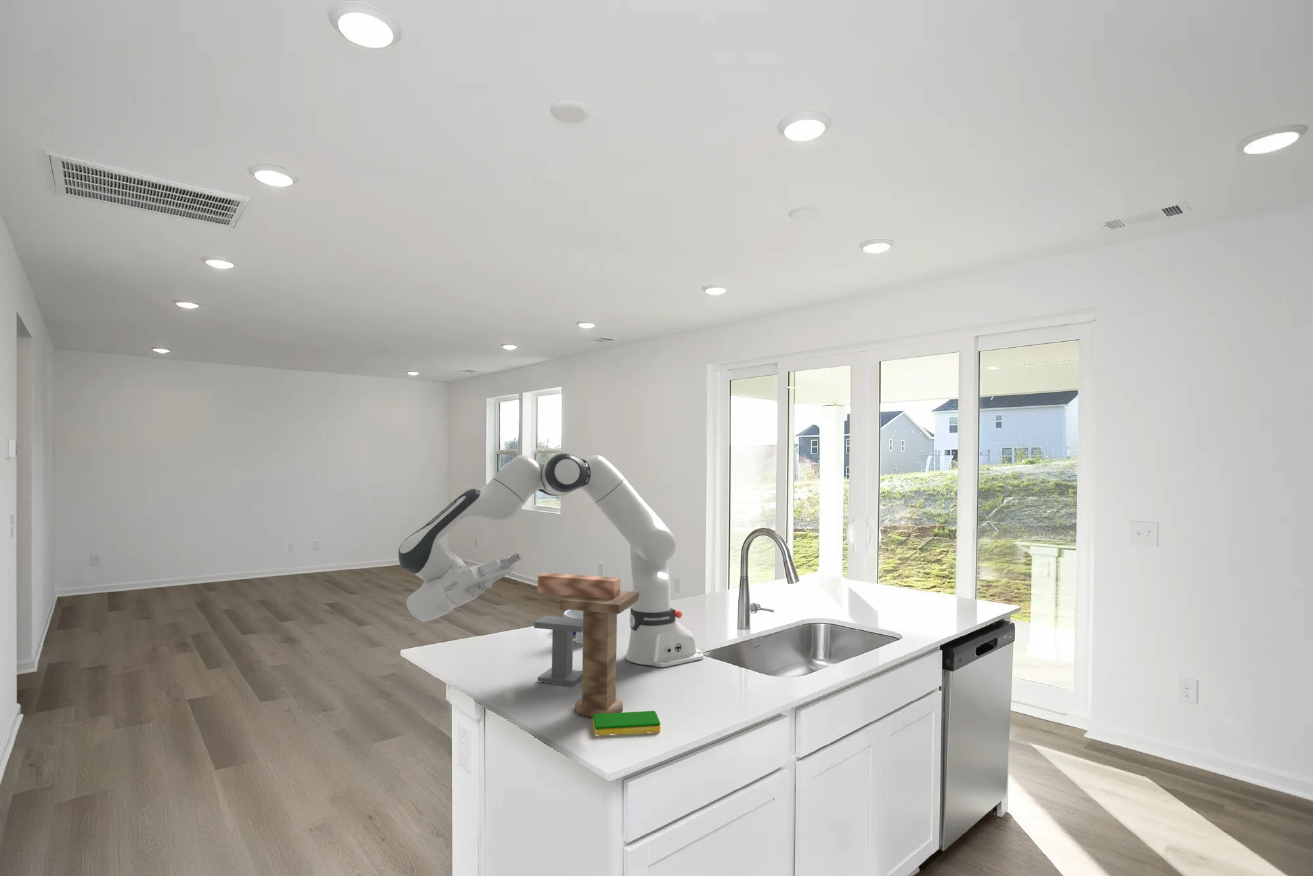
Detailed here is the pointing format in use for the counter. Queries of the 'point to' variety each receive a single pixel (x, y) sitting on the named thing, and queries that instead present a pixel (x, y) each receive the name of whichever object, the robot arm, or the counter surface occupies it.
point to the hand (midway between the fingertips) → (509, 559)
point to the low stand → (561, 649)
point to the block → (579, 585)
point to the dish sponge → (626, 723)
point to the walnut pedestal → (599, 650)
